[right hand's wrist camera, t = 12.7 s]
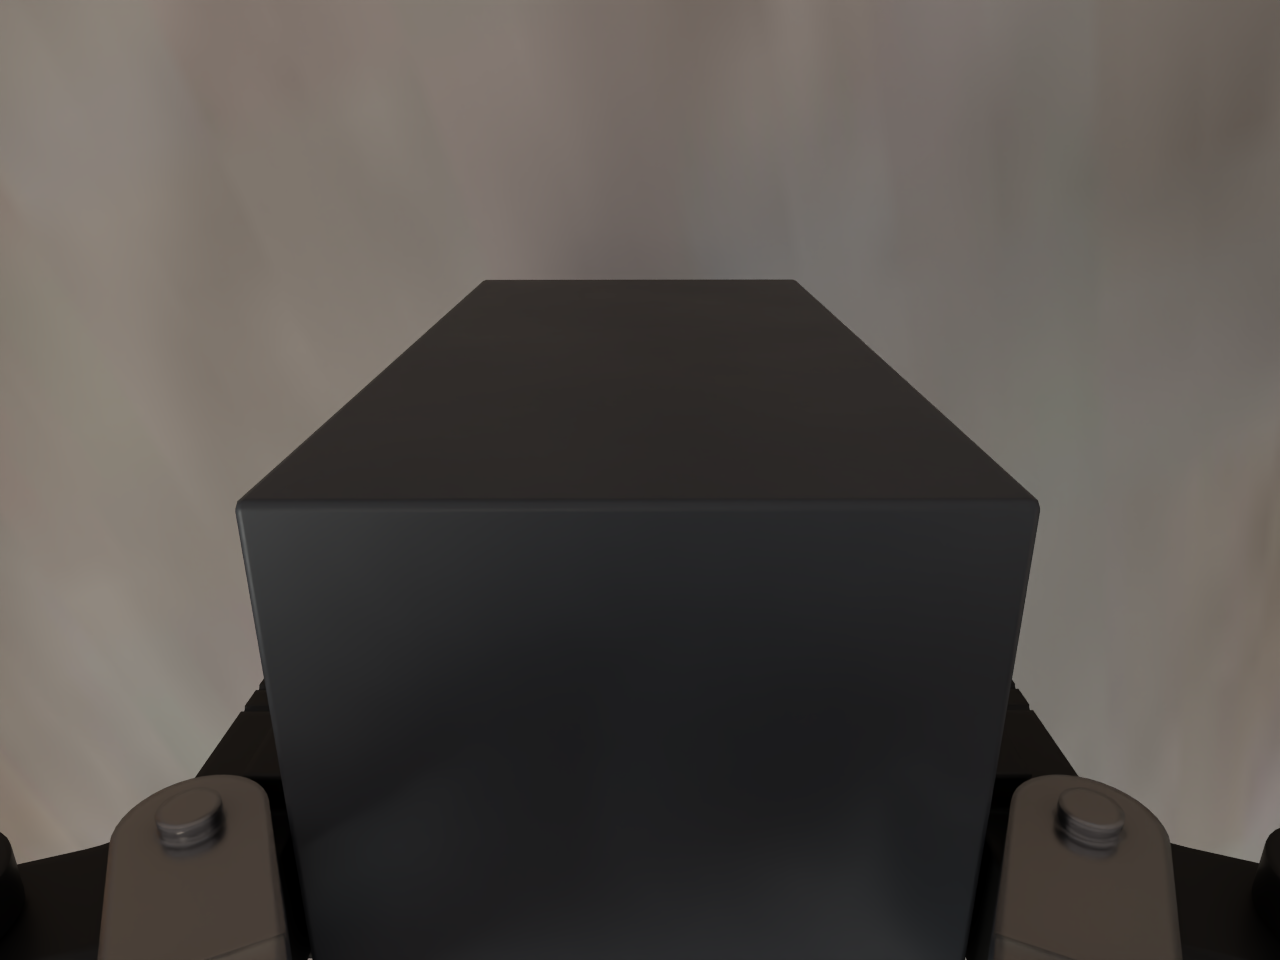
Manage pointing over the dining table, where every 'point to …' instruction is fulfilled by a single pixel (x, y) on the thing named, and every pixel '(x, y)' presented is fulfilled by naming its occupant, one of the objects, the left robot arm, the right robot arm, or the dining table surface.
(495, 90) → the dining table surface
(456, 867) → the box
